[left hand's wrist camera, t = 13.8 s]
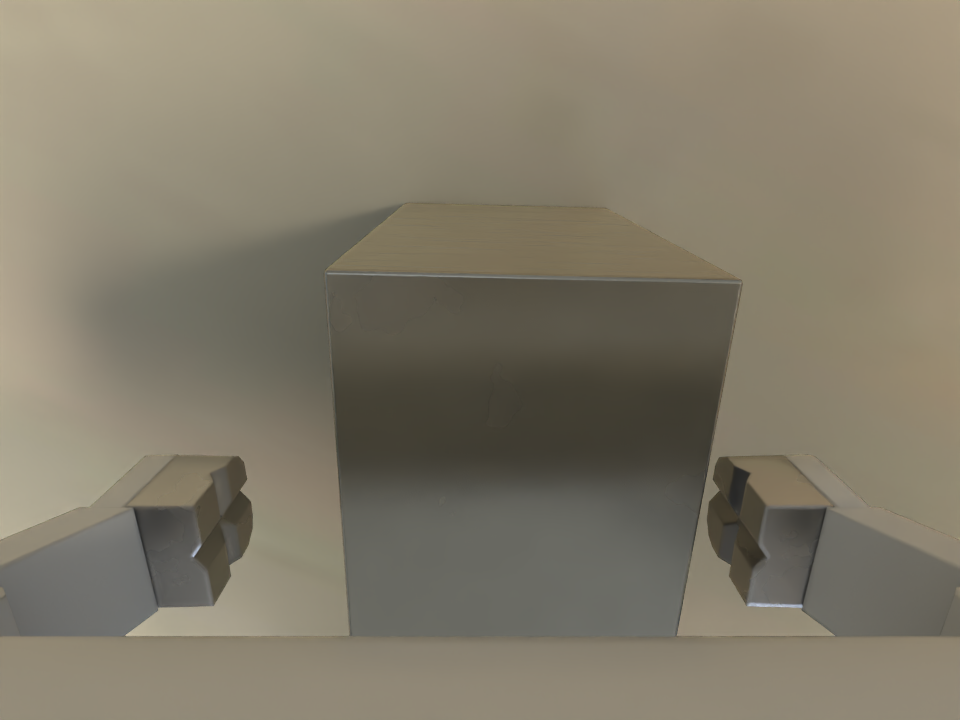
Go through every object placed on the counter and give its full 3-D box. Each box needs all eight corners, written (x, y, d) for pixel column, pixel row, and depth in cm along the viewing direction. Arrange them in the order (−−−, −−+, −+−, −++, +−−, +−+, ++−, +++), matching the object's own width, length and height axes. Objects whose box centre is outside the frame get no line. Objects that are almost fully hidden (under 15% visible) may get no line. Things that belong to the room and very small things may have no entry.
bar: (404, 202, 16) (322, 269, 7) (607, 207, 16) (745, 279, 8) (416, 791, 24) (383, 1126, 16) (549, 793, 24) (584, 1129, 16)
